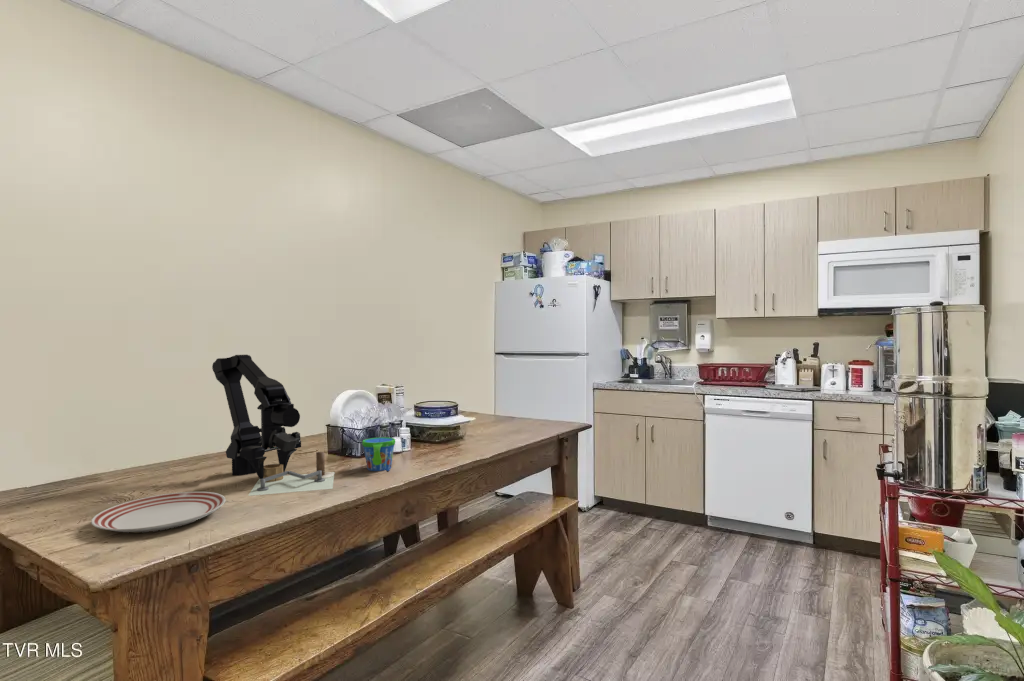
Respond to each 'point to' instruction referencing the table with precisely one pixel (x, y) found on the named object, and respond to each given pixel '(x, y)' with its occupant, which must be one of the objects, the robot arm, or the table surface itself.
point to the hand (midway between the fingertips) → (272, 475)
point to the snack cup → (379, 453)
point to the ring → (273, 471)
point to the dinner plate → (158, 512)
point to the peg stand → (321, 466)
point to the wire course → (292, 483)
